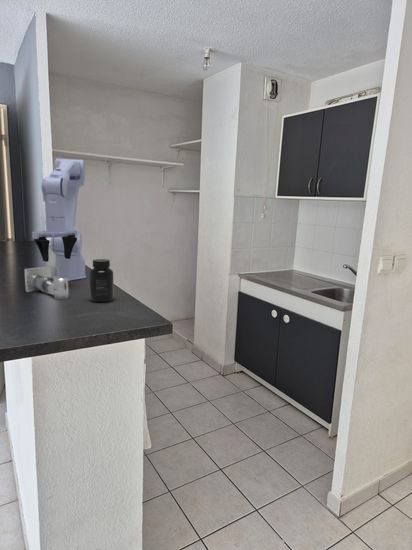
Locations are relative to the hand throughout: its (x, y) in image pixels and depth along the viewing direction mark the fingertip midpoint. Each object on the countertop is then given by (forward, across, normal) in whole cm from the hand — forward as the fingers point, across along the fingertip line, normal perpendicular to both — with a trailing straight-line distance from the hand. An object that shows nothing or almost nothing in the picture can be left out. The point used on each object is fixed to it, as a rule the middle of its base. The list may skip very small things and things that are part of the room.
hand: (56, 259), depth 120 cm
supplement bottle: (+10, +2, -20) cm, 22 cm away
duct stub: (+9, -5, 0) cm, 11 cm away
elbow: (+9, -5, -8) cm, 13 cm away
